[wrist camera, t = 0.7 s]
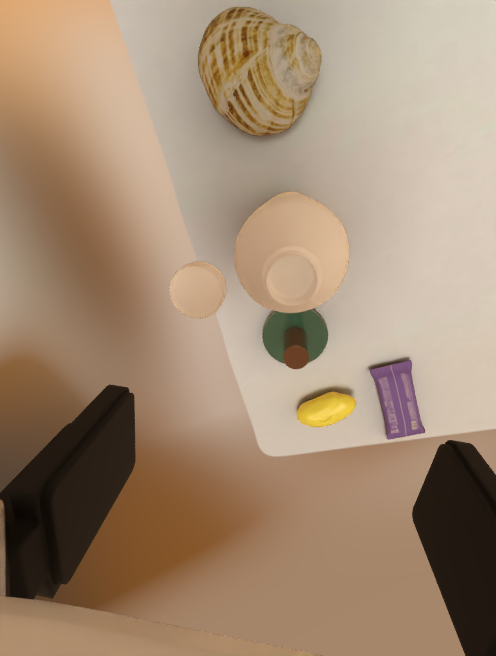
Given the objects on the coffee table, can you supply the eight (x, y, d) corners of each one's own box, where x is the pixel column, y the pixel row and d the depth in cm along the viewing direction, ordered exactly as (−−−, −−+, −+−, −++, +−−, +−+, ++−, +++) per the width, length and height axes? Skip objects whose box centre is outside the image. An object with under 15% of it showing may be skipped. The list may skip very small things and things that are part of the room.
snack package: (385, 435, 46) (422, 427, 45) (389, 444, 45) (428, 437, 44) (367, 365, 43) (408, 356, 42) (371, 373, 41) (413, 363, 40)
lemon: (291, 396, 45) (292, 414, 42) (349, 381, 44) (355, 398, 40) (300, 420, 47) (302, 439, 43) (357, 406, 45) (363, 425, 41)
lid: (250, 328, 42) (244, 352, 36) (299, 290, 40) (302, 309, 34) (290, 371, 44) (290, 401, 38) (339, 337, 42) (349, 363, 35)
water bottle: (316, 187, 35) (370, 186, 12) (320, 248, 38) (372, 344, 15) (236, 199, 36) (150, 221, 14) (245, 258, 39) (185, 360, 16)
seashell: (183, 23, 30) (212, -61, 21) (278, 31, 33) (338, -39, 24) (199, 147, 34) (229, 120, 25) (284, 144, 37) (338, 119, 28)
